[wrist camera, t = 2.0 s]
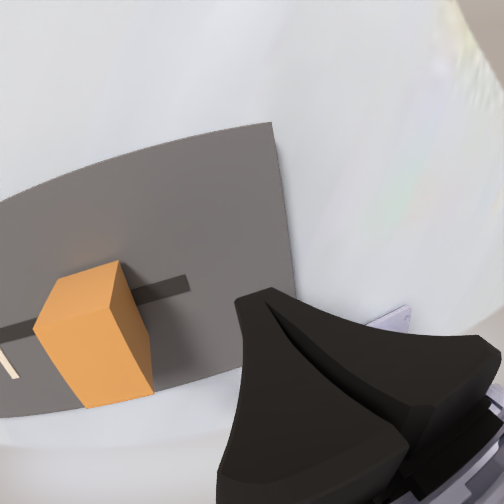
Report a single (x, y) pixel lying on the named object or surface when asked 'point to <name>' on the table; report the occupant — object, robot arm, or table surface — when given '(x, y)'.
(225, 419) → the table surface
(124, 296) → the fader knob
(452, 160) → the table surface
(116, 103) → the table surface
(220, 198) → the board
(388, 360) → the robot arm
